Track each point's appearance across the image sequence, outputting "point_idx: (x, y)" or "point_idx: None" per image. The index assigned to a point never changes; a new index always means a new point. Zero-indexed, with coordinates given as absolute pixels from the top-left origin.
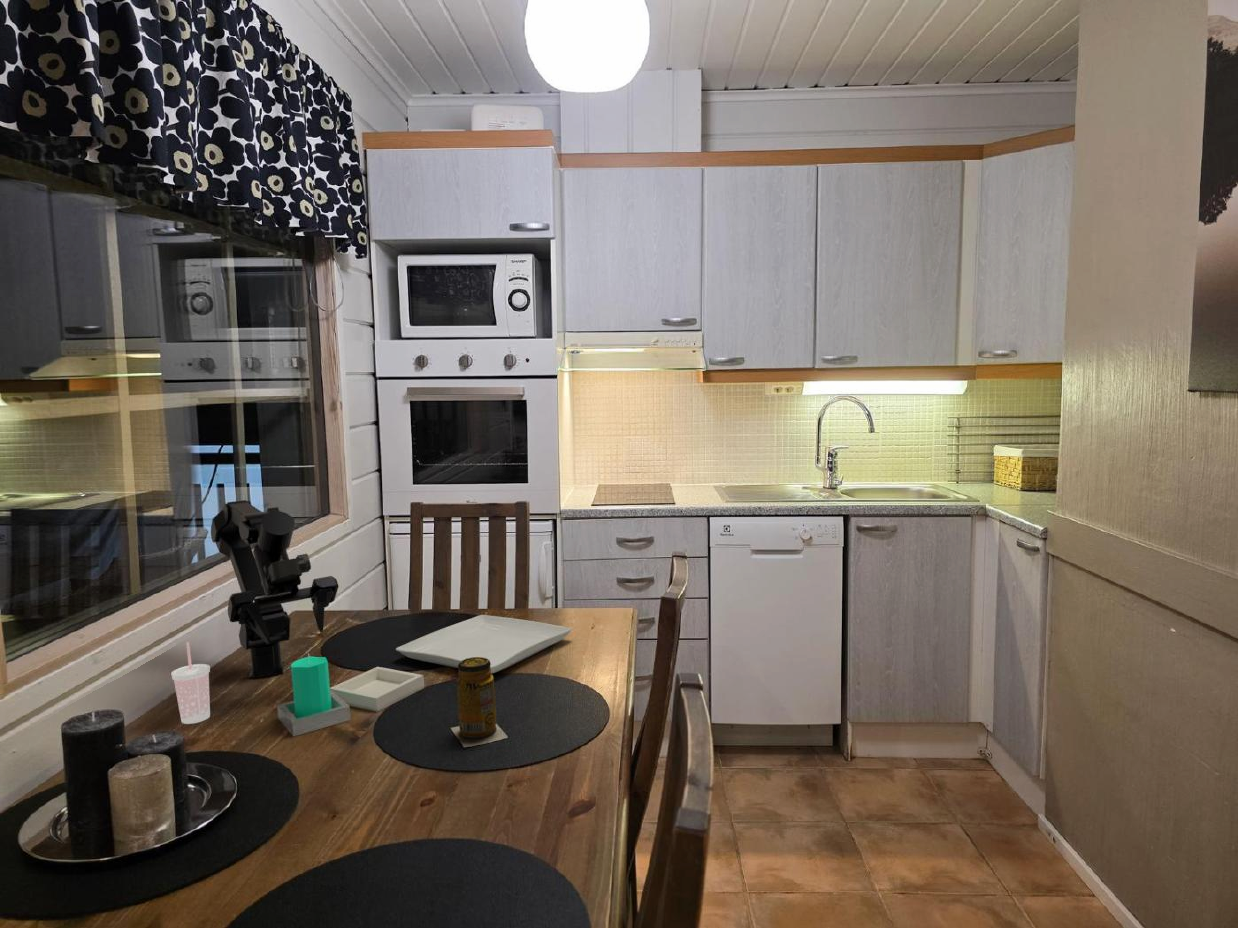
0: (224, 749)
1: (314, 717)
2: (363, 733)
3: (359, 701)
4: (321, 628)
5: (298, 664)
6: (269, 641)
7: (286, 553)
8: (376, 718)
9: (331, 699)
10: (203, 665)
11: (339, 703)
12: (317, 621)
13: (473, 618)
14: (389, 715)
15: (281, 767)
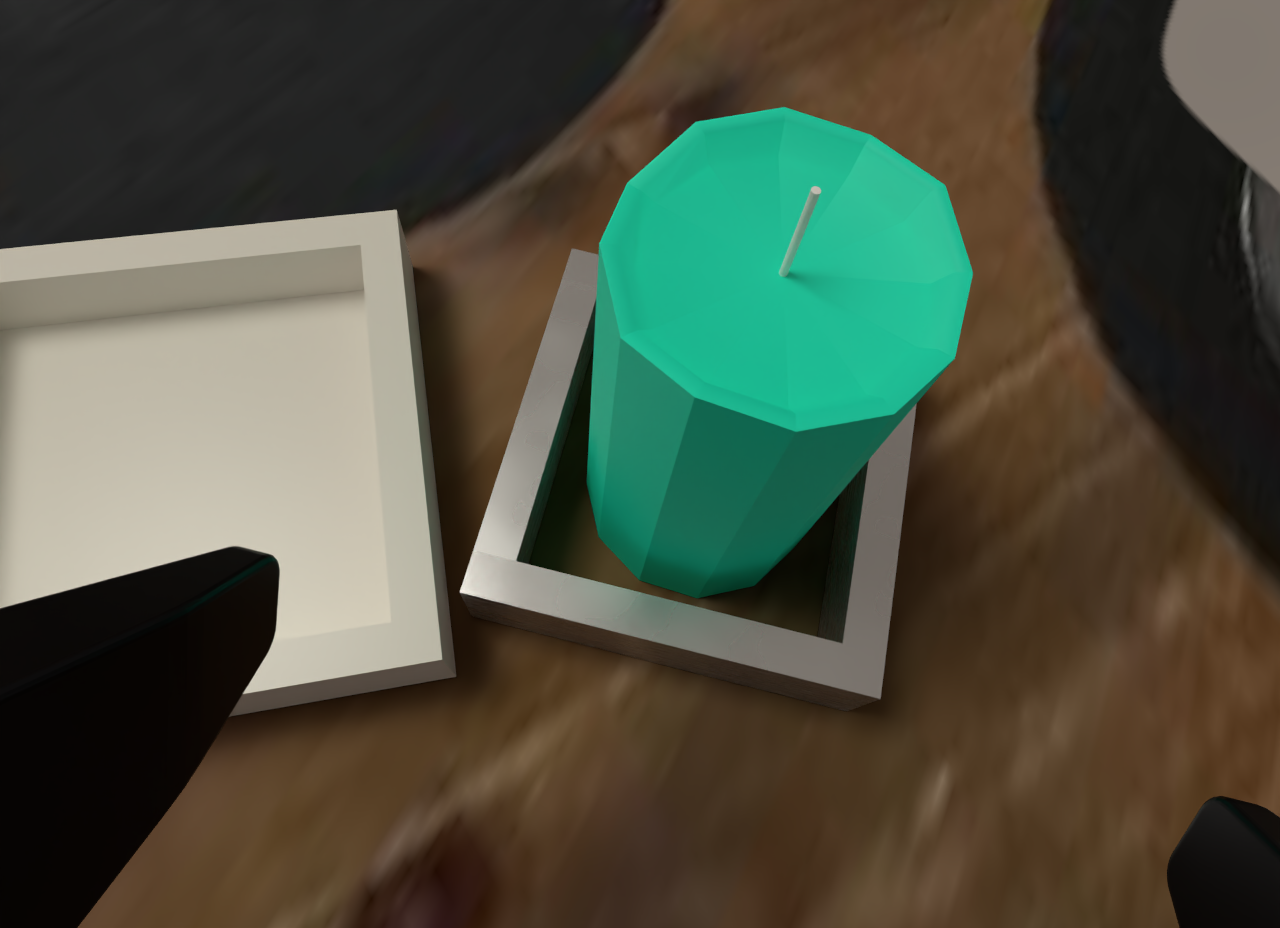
0: (1233, 556)
1: None
2: (633, 127)
3: (419, 375)
4: (261, 554)
5: (860, 366)
6: (1225, 797)
7: None
8: (476, 206)
9: (535, 507)
10: None
11: (583, 334)
12: (88, 827)
13: None
14: (410, 180)
15: (1057, 151)
